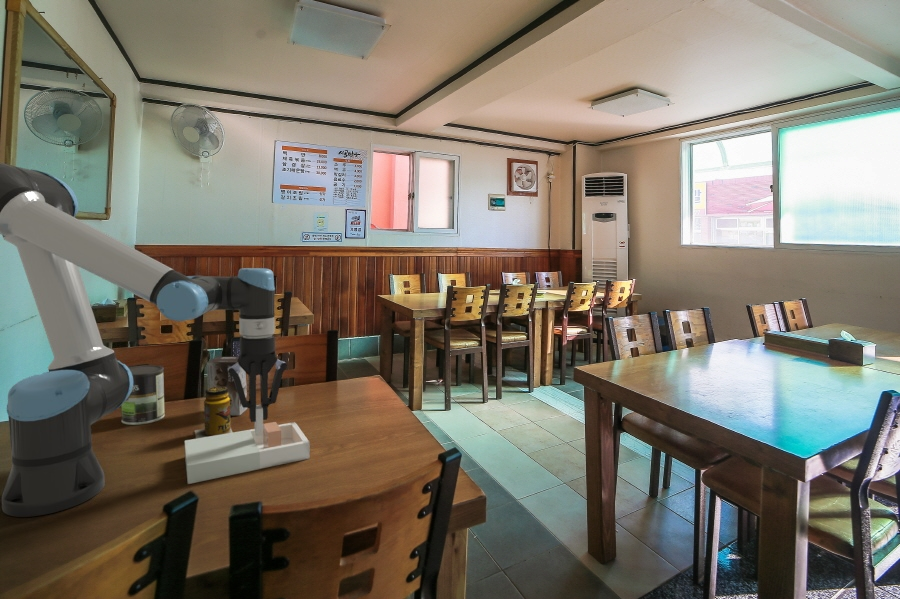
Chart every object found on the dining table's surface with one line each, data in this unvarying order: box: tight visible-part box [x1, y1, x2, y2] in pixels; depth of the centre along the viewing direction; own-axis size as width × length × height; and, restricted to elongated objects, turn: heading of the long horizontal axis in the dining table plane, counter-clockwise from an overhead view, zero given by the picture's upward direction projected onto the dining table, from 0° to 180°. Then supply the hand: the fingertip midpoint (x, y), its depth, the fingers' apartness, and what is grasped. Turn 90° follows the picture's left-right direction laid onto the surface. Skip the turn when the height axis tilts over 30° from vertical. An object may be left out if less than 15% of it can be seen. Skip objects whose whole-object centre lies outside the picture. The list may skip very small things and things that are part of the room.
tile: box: [263, 421, 281, 449], centre depth 110 cm, size 6×6×3 cm
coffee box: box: [206, 356, 248, 416], centre depth 135 cm, size 9×6×16 cm
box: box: [249, 421, 311, 470], centre depth 111 cm, size 11×14×4 cm
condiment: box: [194, 386, 233, 439], centre depth 120 cm, size 7×8×12 cm
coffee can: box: [120, 364, 166, 426], centre depth 128 cm, size 10×10×14 cm
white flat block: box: [184, 429, 261, 485], centre depth 104 cm, size 14×14×4 cm
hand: (258, 433), depth 108 cm, fingers closed
